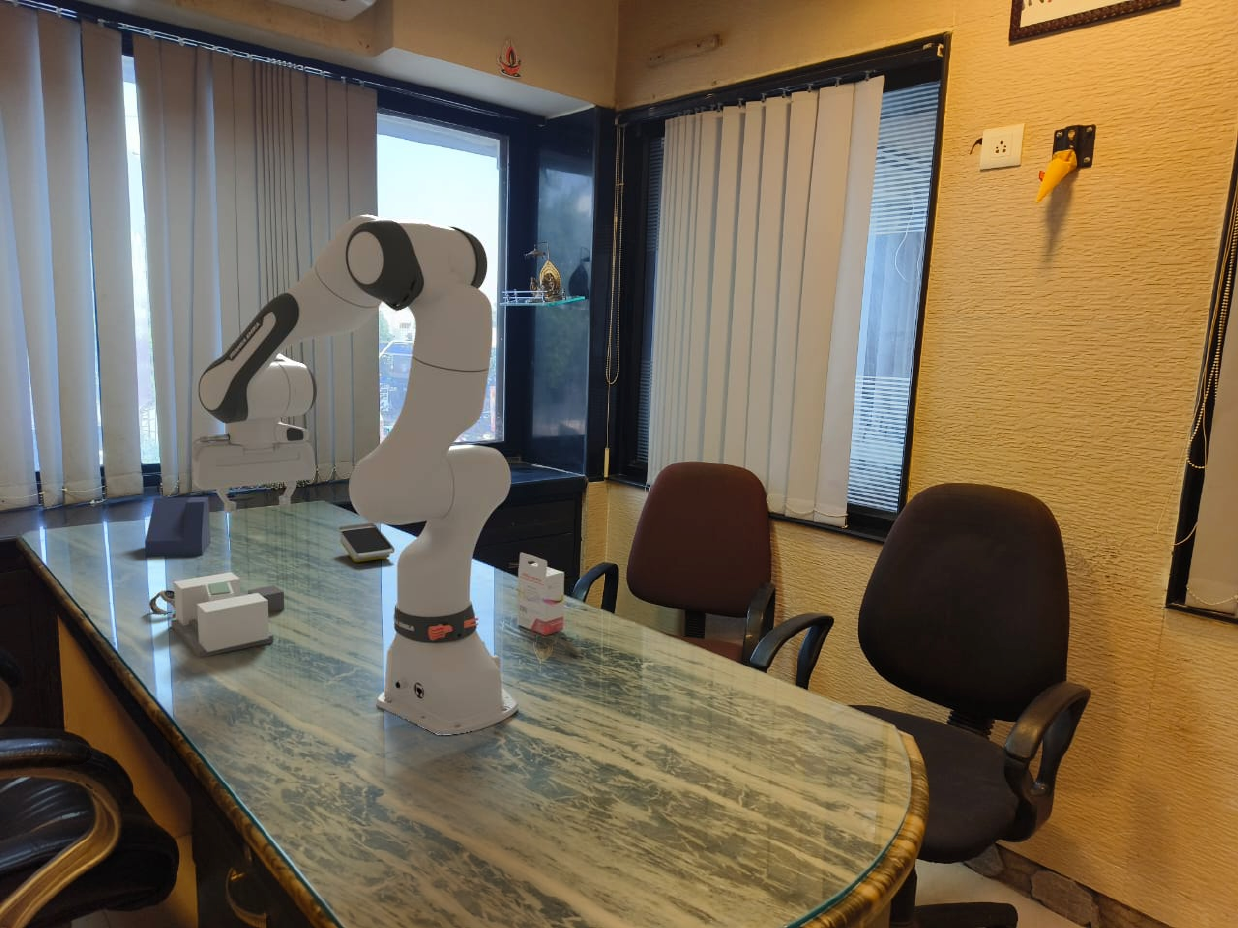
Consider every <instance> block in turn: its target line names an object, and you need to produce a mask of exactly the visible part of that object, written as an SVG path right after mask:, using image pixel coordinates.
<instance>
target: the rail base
mask: <svg viewBox="0 0 1238 928" xmlns="http://www.w3.org/2000/svg"><path fill="white" fill-rule="evenodd" d="M220 582H230V585H231V587H232V589H233V592H234V597H233V598H227V599H222V600H216V601H211V602H206V590H205V585H209V584H211V583H220ZM173 591H174V595H175V608H174V614H175V613H176V615H175V619H171V621H170V623H171V626H170V627H171V628H172V629H173V628H174V629H175V630H174V629H173V630H174V631H175V632H176V633H177V635H179V637H180V638H181V639H182V641H184V642H185V643H186V645H188V646H189V648H190V649H191V650H192V651H193V652H194V654H196V656H198V657H199V658H205V657H209V656H214V655H219V654H223V653H229V652H233V651H238V650H243V649H247V648H252V647H256V646H262V645H266V644H271V643H274V641H273V640H274V638H273V637H274V636H273V634H272V633H271V632H270V631H269V630H270V629H269V626H270V625H269V613H268V600H266V599H265V598H264V597H263V596H261V595H260V594H259V593H255V594H249V595H248V594H246V595H245V594H244V595H241V579H240V578H239V577H238V576H237V575H235V574H234V573H233V572H225V573H219V574H218V573H217V574H214V575H212V574H211V575H207V576H200V577H194V578H188V579H181V580H176V581H173Z"/></svg>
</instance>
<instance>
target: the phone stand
mask: <svg viewBox="0 0 1238 928" xmlns="http://www.w3.org/2000/svg"><path fill="white" fill-rule="evenodd" d="M209 503H210V502H209V496H190V497H184V496H183V497H182V496H181V497H180V496H179V497H155V498H154V499H153V503H152V509H151V514H150V519H149V522H148V523H149V524H148V527H147V532H146V536H145V537H146V538H145V541H144V543H145V557H146V558H167V557H170V558H171V557H192V556H193V557H195V556H196V557H197V556H203V555H204V554H205V552H206V551H207V549H208V547H209V546H210V544H211V527H210V525H211V524H210V504H209Z"/></svg>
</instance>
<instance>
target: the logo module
mask: <svg viewBox="0 0 1238 928" xmlns="http://www.w3.org/2000/svg"><path fill="white" fill-rule="evenodd" d="M205 590H206V602H211V601H216V600H222V599H227V598H233V597H234V592H233V589H232V587H231V585H230V582H220V583H211V584H209V585H205Z"/></svg>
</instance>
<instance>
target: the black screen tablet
mask: <svg viewBox="0 0 1238 928" xmlns="http://www.w3.org/2000/svg"><path fill="white" fill-rule="evenodd" d="M338 532H339V533H340V544H341V545H342V546H343V547H344V549H345V550H346V552H347V553H348V554H349V556H350V557H351V559H352V560H353V562H355V563H361V562H362V563H363V562H369V561H374V560H376V561H377V560H383V559H386V558H390V555H391V554H394V553H395V547H394V546H393V545H392V544H391V542H390V541H389V539H388V538H387V537H386V536H385V535H384V534H383V532H382V531H381V529H379V527H378V526H377V525H376V523H369V522H366V523H365V522H364V523H358V524H350V525H349V524H348V525H341V526H340V525H339V527H338Z"/></svg>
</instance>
